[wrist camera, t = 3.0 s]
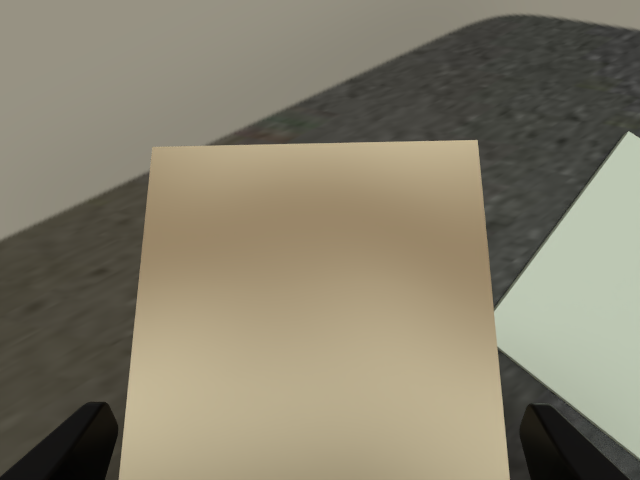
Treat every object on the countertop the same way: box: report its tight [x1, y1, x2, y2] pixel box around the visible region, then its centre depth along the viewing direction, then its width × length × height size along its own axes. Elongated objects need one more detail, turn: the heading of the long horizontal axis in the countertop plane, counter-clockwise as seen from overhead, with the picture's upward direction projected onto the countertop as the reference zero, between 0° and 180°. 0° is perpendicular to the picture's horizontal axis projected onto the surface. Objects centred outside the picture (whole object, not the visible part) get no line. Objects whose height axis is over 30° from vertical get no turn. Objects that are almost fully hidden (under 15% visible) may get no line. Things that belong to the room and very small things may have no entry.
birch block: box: [119, 140, 510, 480], centre depth 13 cm, size 6×6×12 cm
